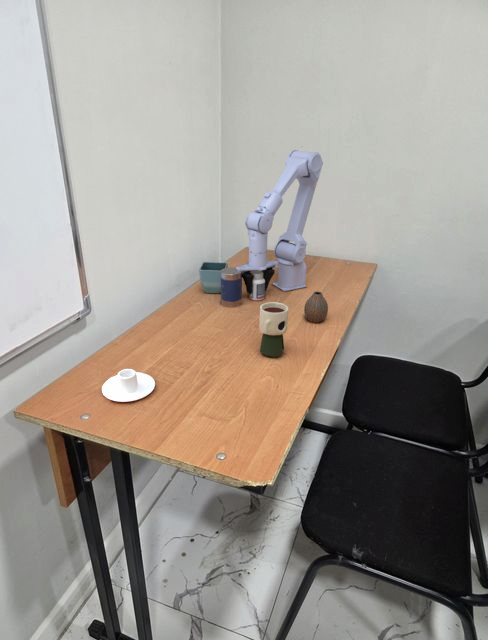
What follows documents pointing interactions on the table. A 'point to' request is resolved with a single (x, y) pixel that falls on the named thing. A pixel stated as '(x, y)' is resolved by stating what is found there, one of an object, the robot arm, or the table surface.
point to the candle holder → (128, 386)
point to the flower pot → (211, 276)
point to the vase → (316, 308)
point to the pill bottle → (257, 286)
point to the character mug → (273, 328)
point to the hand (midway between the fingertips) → (256, 291)
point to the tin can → (231, 287)
